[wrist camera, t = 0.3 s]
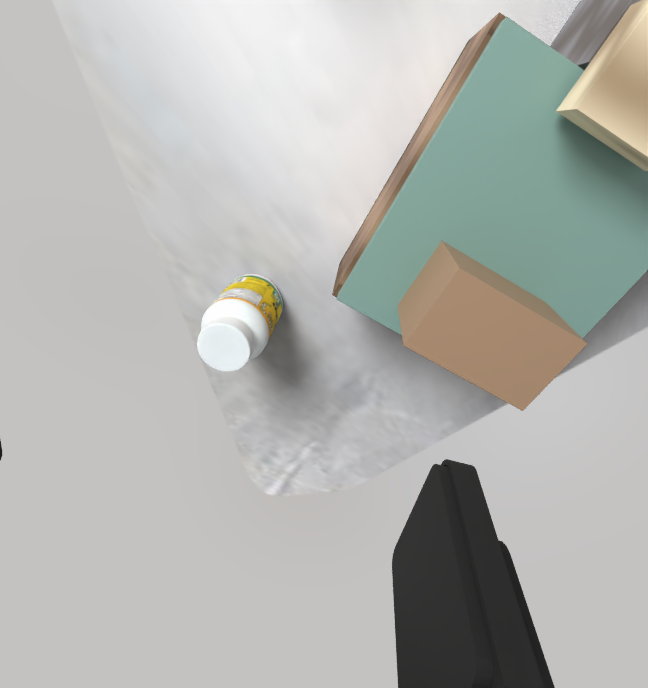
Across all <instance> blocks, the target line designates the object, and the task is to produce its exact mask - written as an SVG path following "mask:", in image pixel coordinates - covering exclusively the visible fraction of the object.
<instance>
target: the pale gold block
mask: <svg viewBox="0 0 648 688" xmlns="http://www.w3.org/2000/svg"><path fill="white" fill-rule="evenodd" d="M556 112H558V113H559V114H561V115H562V116H564V117H565V118H567V119H568V120H570V121H571V122H573V123H574V124H576V125H577V126H579V127H580V128H582V129H583V130H585V131H586V132H588V133H589V134H591V135H592V136H594V137H595V138H597V139H598V140H599V141H601V142H602V143H604V144H605V145H607V146H608V147H610V148H611V149H613V150H614V151H616V152H617V153H619V154H620V155H622V156H623V157H625V158H626V159H628V160H629V161H631V162H632V163H634V164H635V165H637V166H638V167H640V168H641V169H643V170H644V171H648V0H641V1H639V2H637V3H635V4H632V5H631V6H630V7H629V9H628V10H627V11H626V13H625V14H624V16H623V17H622V18H621V20H620V21H619V23H618V24H617V25H616V27H615V28H614V30H613V31H612V33H611V34H610V35H609V37H608V38H607V40H606V41H605V42H604V44H603V45H602V47H601V48H600V49H599V51H598V52H597V54H596V55H595V57H594V58H593V59H592V61H591V62H590V64H589V65H588V66H587V68H586V69H585V71H584V72H583V73H582V75H581V76H580V78H579V79H578V81H577V82H576V83H575V85H574V86H573V88H572V89H571V90H570V92H569V93H568V95H567V96H566V98H565V99H564V100H563V102H562V103H561V105H560V106H559V107H558V109H557V110H556Z"/></svg>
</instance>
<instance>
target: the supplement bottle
mask: <svg viewBox="0 0 648 688" xmlns="http://www.w3.org/2000/svg"><path fill="white" fill-rule="evenodd" d="M282 308H283V302H282V297H281V295H280V292H279V290H278V289H277V287H276V286H275V284H274V283H273V282H272V281H270V280H269V279H267V278H265V277H263V276H260V275H256V274H247V275H243V276H240V277H238V278H236V279H235V280H233V281H232V282H231V283H230V284H229V285H228V287H227V288H226V289H225V290H224V291H223V292H222V293H221V295H220V296H219V297H218V298H217V299H216V300H215V301H214V302H213V303H212V305H211V306H210V307H209V308H208V309H207V311H206V312H205V314H204V316H203V319H202V323H201V332H200V334H199V336H198V340H197V348H198V351H199V354H200V356H201V357H202V359H203V360H204V361H205V362H206V363H207V364H208V365H209V366H211V367H212V368H214V369H216V370H219V371H223V372H232V371H236V370H239V369H241V368H242V367H244V366H245V365H246V364H247V362H248V361H249V360H252V359H254V358H255V357H257V356H258V355H259V354H260V353H261V352H262V351H263V350H264V348H265V347H266V344H267V343H268V340H269V338H270V337H271V334H272V332H273V330H274V328H275V326H276V324H277V322H278V319H279V318H280V315H281V312H282Z"/></svg>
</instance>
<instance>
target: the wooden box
mask: <svg viewBox="0 0 648 688" xmlns="http://www.w3.org/2000/svg"><path fill="white" fill-rule="evenodd" d="M639 1H641V0H582V1H580V2H579V4H578V5H577V7H576V8H575V10H574V11H573V13H572V14H571V16H570V17H569V19H568V20H567V22H566V23H565V25H564V26H563V28H562V29H561V31H560V33H559V34H558V36H557V37H556V39H555V40H554V42H553V43H552V45H551V46H550V47H551V48H553V49H554V50H556V51H557V52H558V53H560V54H561V55H563V56H564V57H566V58H567V59H568V60H570V61H571V62H573V63H574V64H576V65H577V66H579V67H580V68H581V69H583V70H584V71H585V69H586V68H587V66H588V65H589V64H590V62H591V61H592V59H593V58H594V57H595V55H596V54H597V52H598V51H599V49H600V48H601V47H602V45H603V44H604V42H605V41H606V40H607V38H608V37H609V35H610V34H611V33H612V31H613V30H614V28H615V27H616V25H617V24H618V23H619V21H620V20H621V18H622V17H623V16H624V14H625V13H626V11H627V10H628V9H629V7H630V6H631V5H632V4H635V3H637V2H639ZM505 18H506V17H505V16H504V15H502V14H501V13H498V14H497V15H496V16H495V17H494V18H493V19H492V20H491V21H490V22H489V23H487V24H486V25H485V26H484V27H483V28H482V29H481V30H480V31H479V32H478V33H477V34H475V35H474V36H473V37H472V38H471V39H470V40H469V41H468V43H467V44H466V46H465V48H464V49H463V51H462V53H461V55H460V56H459V58H458V60H457V62H456V63H455V65H454V67H453V68H452V70H451V72H450V74H449V75H448V77H447V79H446V81H445V82H444V84H443V86H442V87H441V89H440V91H439V93H438V94H437V96H436V98H435V100H434V101H433V103H432V105H431V106H430V108H429V110H428V112H427V113H426V115H425V117H424V119H423V120H422V122H421V124H420V125H419V127H418V129H417V131H416V132H415V134H414V136H413V138H412V139H411V141H410V143H409V144H408V146H407V148H406V150H405V151H404V153H403V155H402V157H401V158H400V160H399V162H398V163H397V165H396V167H395V169H394V170H393V172H392V174H391V176H390V177H389V179H388V181H387V182H386V184H385V186H384V188H383V189H382V191H381V193H380V195H379V196H378V198H377V200H376V201H375V203H374V205H373V207H372V208H371V210H370V212H369V214H368V215H367V217H366V219H365V220H364V222H363V224H362V226H361V227H360V229H359V231H358V233H357V234H356V236H355V238H354V239H353V241H352V243H351V245H350V246H349V248H348V250H347V252H346V253H345V255H344V257H343V258H342V260H341V262H340V264H339V268H338V272H337V277H336V281H335V285H334V289H333V294H332V295H333V296H335V297H337V296H338V293H339V291H340V289H341V288H342V286H343V284H344V283H345V281H346V279H347V278H348V276H349V274H350V273H351V271H352V269H353V268H354V266H355V264H356V263H357V261H358V259H359V258H360V256H361V254H362V253H363V251H364V249H365V248H366V246H367V244H368V243H369V241H370V239H371V238H372V236H373V234H374V233H375V231H376V229H377V228H378V226H379V224H380V223H381V221H382V219H383V218H384V216H385V214H386V213H387V211H388V209H389V208H390V206H391V204H392V202H393V201H394V199H395V197H396V196H397V194H398V192H399V191H400V189H401V187H402V186H403V184H404V182H405V181H406V179H407V177H408V176H409V174H410V172H411V171H412V169H413V167H414V166H415V164H416V162H417V161H418V159H419V157H420V156H421V154H422V152H423V151H424V149H425V147H426V146H427V144H428V142H429V141H430V139H431V137H432V136H433V134H434V132H435V131H436V129H437V127H438V126H439V124H440V122H441V121H442V119H443V117H444V116H445V114H446V112H447V111H448V109H449V107H450V106H451V104H452V102H453V101H454V99H455V97H456V96H457V94H458V92H459V91H460V89H461V87H462V86H463V84H464V82H465V81H466V79H467V77H468V76H469V74H470V72H471V70H472V69H473V67H474V65H475V64H476V62H477V60H478V59H479V57H480V55H481V54H482V52H483V50H484V49H485V47H486V45H487V44H488V42H489V40H490V39H491V37H492V35H493V34H494V32H495V30H496V29H497V27H498V25H499V24H500V22H501V21H502V20H504V19H505Z"/></svg>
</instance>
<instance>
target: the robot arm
mask: <svg viewBox="0 0 648 688" xmlns="http://www.w3.org/2000/svg"><path fill="white" fill-rule="evenodd" d="M1 457H2V448H1V441H0V460H1ZM392 571H393V572H392V574H393V593H394V613H395V633H396V652H397V672H398V688H554V685H553V682H552V679H551V676H550V673H549V670H548V666H547V663H546V661H545V658H544V654H543V651H542V649H541V645H540V642H539V639H538V636H537V633H536V630H535V627H534V624H533V621H532V618H531V615H530V612H529V609H528V606H527V603H526V600H525V597H524V595H523V591H522V588H521V585H520V582H519V579H518V576H517V573H516V570H515V567H514V564H513V561H512V559H511V555H510V553H509V551H508V549H507V547H506V545H505V544H504V543H503V542H502V541H498V538H497V535H496V532H495V529H494V525H493V522H492V519H491V516H490V513H489V509H488V506H487V503H486V500H485V497H484V493H483V490H482V487H481V484H480V481H479V478H478V474H477V471H476V469H475V467H473V466H472V465H468V464H464V463H459V462H455V461H451V460H444V461H443V462H442V464H441V465H438V464H434V465H433V466H432V468H431V470H430V472H429V474H428V476H427V479H426V481H425V483H424V485H423V488H422V490H421V492H420V494H419V496H418V499H417V501H416V503H415V505H414V507H413V509H412V512H411V514H410V516H409V518H408V520H407V522H406V525H405V527H404V529H403V531H402V533H401V536H400V538H399V540H398V542H397V544H396V547H395V549H394V553H393V559H392Z"/></svg>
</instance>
